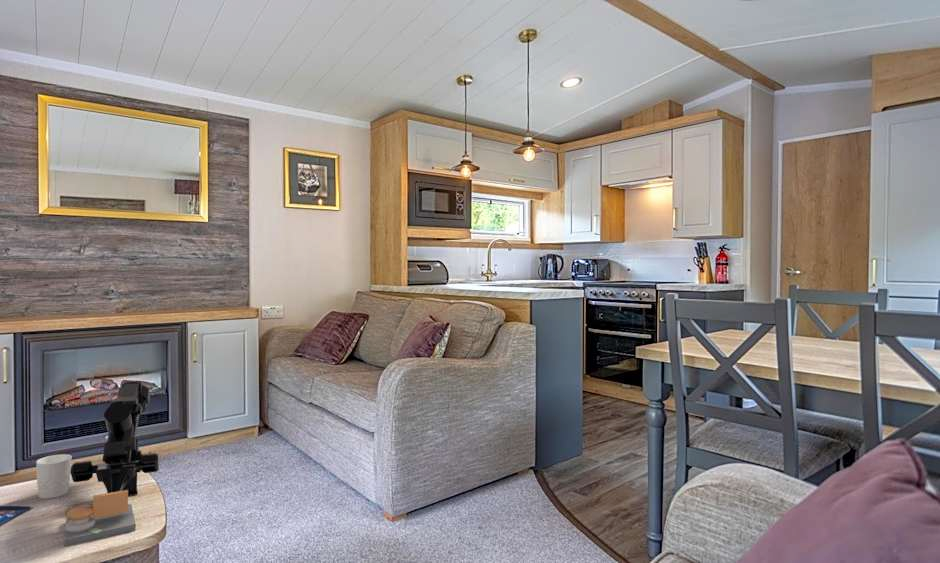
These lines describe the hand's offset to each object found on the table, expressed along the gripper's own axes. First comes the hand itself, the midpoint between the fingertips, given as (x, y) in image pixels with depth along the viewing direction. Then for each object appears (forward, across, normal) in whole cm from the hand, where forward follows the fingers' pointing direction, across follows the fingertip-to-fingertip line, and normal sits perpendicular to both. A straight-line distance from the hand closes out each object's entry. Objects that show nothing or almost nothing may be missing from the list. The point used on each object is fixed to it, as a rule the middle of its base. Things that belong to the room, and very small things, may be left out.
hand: (112, 499), depth 131 cm
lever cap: (+3, -3, +1) cm, 5 cm away
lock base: (+4, -3, +5) cm, 7 cm away
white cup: (-15, -17, +25) cm, 34 cm away
